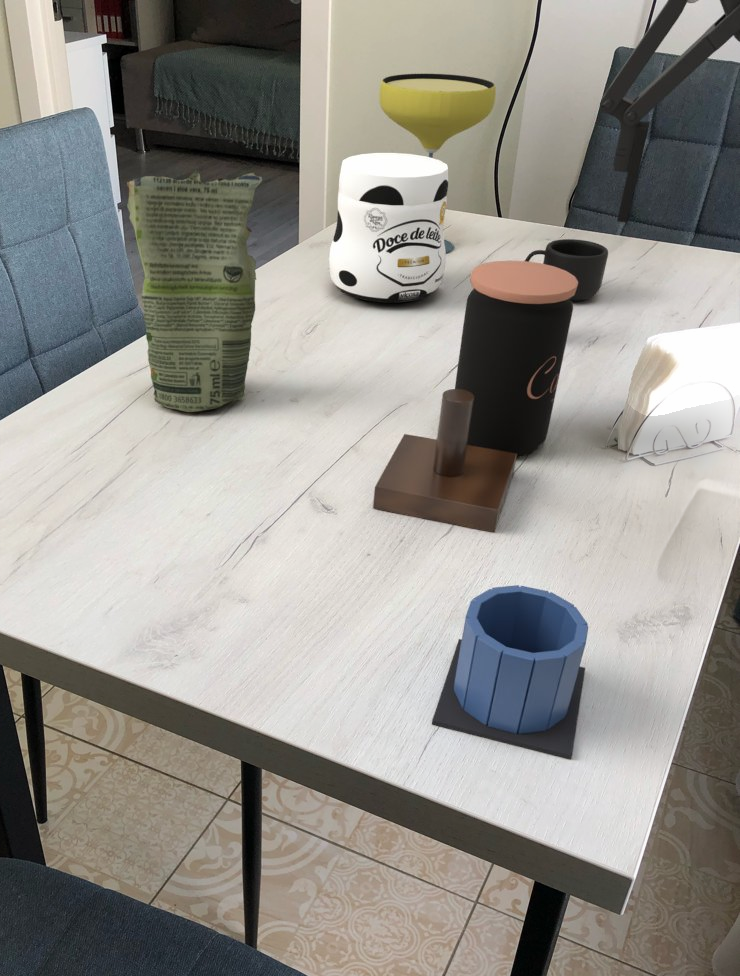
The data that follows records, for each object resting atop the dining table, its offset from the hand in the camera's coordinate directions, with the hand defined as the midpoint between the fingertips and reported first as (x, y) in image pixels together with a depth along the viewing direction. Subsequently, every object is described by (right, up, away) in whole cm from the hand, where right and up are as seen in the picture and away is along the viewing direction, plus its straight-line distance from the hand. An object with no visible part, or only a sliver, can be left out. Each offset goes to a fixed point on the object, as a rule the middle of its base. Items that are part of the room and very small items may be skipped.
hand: (715, 228), depth 71 cm
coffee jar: (-9, -10, +34) cm, 37 cm away
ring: (-16, -35, 0) cm, 38 cm away
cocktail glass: (-10, +33, +91) cm, 97 cm away
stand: (-16, -17, +25) cm, 34 cm away
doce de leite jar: (-18, +19, +72) cm, 76 cm away
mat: (-15, -35, 0) cm, 39 cm away
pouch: (-43, -4, +41) cm, 60 cm away
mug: (+9, +18, +72) cm, 75 cm away
